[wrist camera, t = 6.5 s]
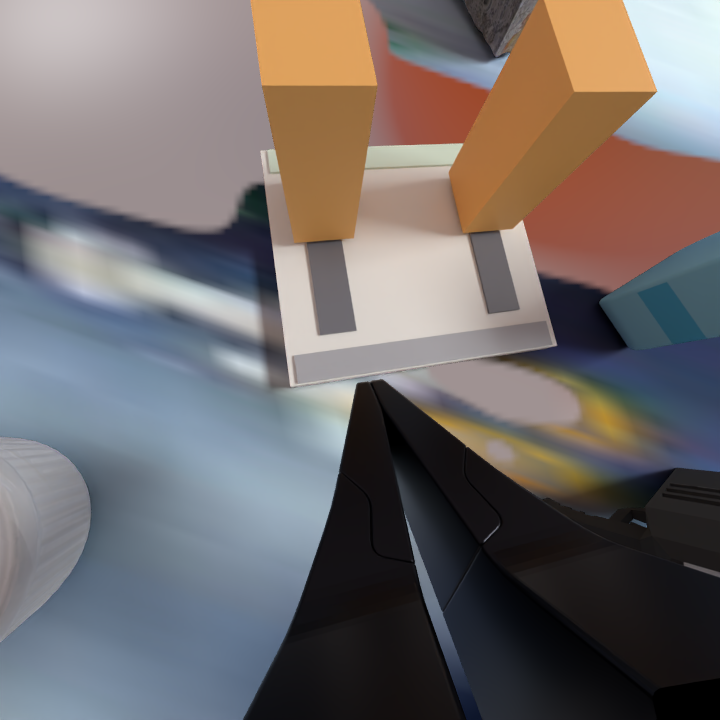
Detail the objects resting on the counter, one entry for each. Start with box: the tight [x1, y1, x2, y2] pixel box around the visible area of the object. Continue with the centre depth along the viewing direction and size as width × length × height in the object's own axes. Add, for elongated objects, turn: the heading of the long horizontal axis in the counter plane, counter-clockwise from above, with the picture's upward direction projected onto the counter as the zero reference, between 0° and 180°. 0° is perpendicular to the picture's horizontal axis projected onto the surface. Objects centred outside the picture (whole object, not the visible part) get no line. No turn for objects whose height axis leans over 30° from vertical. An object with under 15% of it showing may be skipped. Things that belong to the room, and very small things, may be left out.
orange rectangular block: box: [251, 0, 377, 243], centre depth 14 cm, size 5×4×9 cm
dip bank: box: [261, 144, 557, 388], centre depth 20 cm, size 17×19×1 cm
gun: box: [543, 468, 720, 577], centre depth 17 cm, size 3×16×10 cm, turn 95°
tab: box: [449, 0, 657, 233], centre depth 16 cm, size 5×4×9 cm
